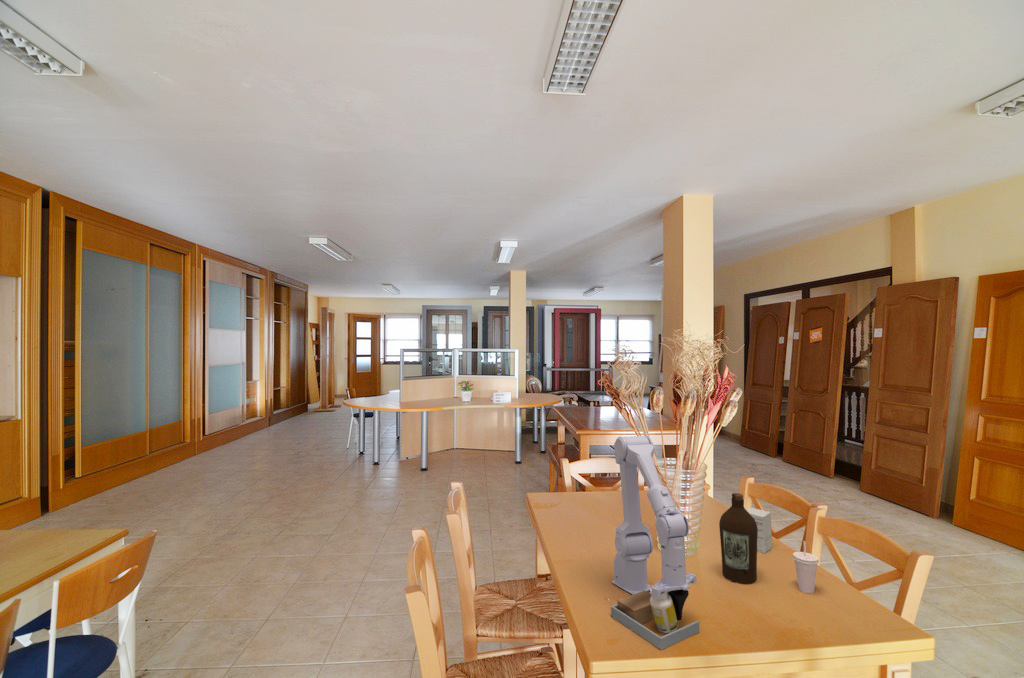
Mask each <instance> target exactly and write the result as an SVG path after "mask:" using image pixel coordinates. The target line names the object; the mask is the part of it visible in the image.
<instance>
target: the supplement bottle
mask: <svg viewBox="0 0 1024 678" xmlns="http://www.w3.org/2000/svg"><path fill="white" fill-rule="evenodd" d="M655 585H656V584H654V585H653V586H655ZM649 593H650V594H651V598H650V604H651V608H652V612H653V615H654V619H653V620H654V622H655V623H654V624H655V627H656V628H657V630H658V631H659V632H660V633H664V634H669V633H671V632H673V631H676V630H678V629H679V628H678V627H679V621H677V617H676V613H675V609H674V605H673V601H672V598H671V596H670V595H669V594H668V592H667V591H665V592H661V594H660V595H661V597H659V598H657V597H655V596H653V595H652V589H650V592H649Z"/></svg>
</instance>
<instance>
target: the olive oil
mask: <svg viewBox="0 0 1024 678" xmlns="http://www.w3.org/2000/svg"><path fill="white" fill-rule="evenodd" d="M744 500H745V499H744V495H743V494H742V493H739V492H732V493H731V505H730V506H729V508H728V509H727V510H725V511H724V513H722V515H721V516H720V519H719V523H718V525H719V538H720V551H721V553H720V554H721V568H722V571H721V572H722V576H723V577H724V578H725V579H726V580H728V581H730V580H731V582H733V583H736V582H737V584H742V585H743V584H744V585H750V584H754V583H756V582H757V578H758V576H757V575H758V572H757V571H758V567H757V566H758V565H757V563H758V552H757V536H758V528H757V524H756V521H755V520H754V518H753V517H752V516H751V515H750V514H749V513H748V512H747V509H746V508H745V507H744V502H745V501H744Z"/></svg>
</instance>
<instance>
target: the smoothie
mask: <svg viewBox="0 0 1024 678" xmlns="http://www.w3.org/2000/svg"><path fill="white" fill-rule="evenodd" d="M802 542H803V551H795V552H793V553H792V559H793V560H794V566H795V567H794V568H795V571H796V577H797V578H796V579H797V585H798V590H799V591H800V592H802V593H804V594H805V593H806V594H814V592H815V587H816V578H817V569H818V563H819V562H820V561H819V557H818V556H817V555H814V554H813V553H809V552H807V547H806V546H807V543H806V542H807V541H805V540H803V541H802Z"/></svg>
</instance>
